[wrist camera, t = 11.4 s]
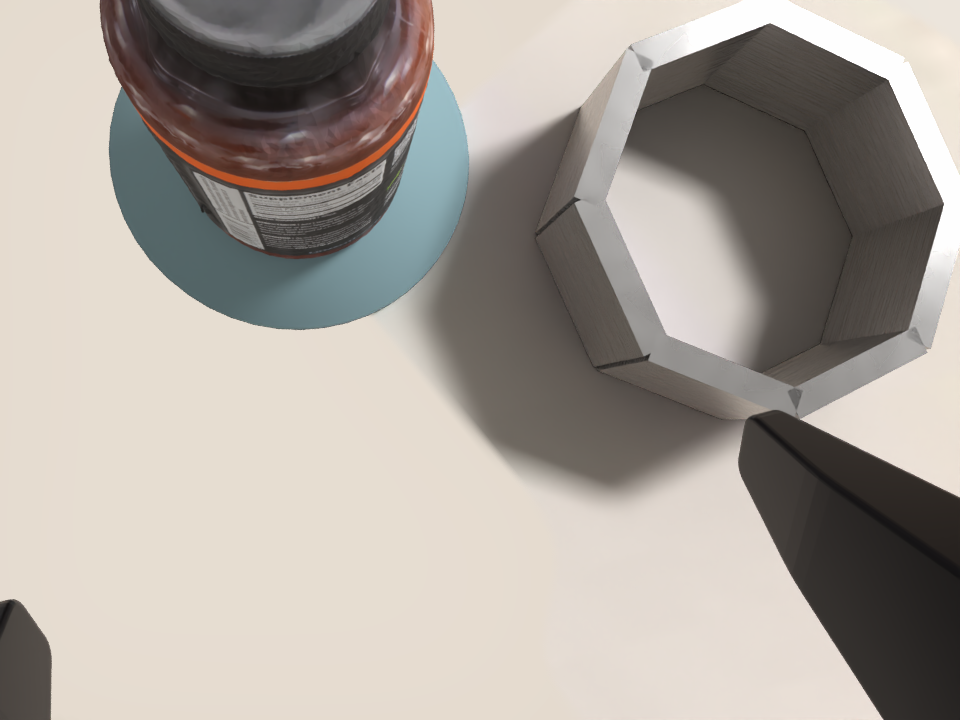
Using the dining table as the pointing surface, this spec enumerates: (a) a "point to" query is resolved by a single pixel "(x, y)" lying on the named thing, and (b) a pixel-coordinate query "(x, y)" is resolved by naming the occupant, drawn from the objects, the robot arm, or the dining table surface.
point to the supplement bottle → (279, 108)
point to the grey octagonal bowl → (849, 171)
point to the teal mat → (296, 282)
